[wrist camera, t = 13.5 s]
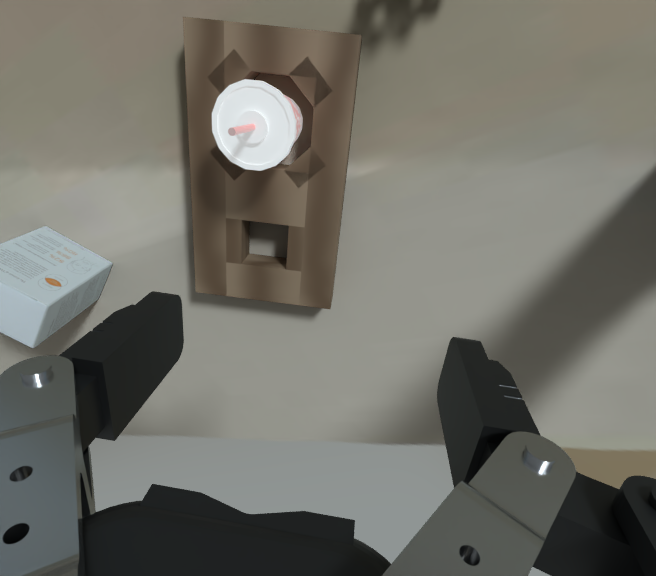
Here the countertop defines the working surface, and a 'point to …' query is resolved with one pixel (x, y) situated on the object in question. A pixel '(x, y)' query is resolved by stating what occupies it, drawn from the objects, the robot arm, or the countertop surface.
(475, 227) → the countertop surface
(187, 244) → the countertop surface
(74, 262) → the small box
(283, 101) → the beverage cup
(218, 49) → the socket plate
